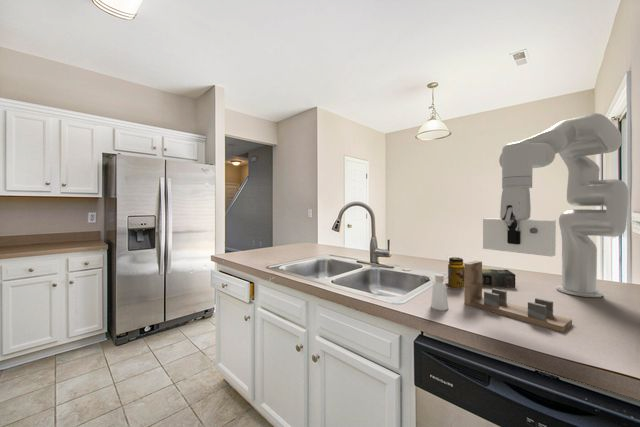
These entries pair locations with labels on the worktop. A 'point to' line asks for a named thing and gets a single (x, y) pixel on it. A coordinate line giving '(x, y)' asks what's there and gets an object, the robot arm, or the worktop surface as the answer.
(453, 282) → the condiment
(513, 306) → the cabinet base
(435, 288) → the pepper shaker
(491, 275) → the juice carton
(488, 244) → the door panel
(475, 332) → the worktop surface
